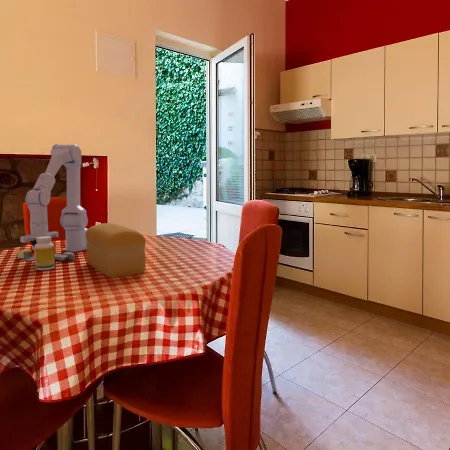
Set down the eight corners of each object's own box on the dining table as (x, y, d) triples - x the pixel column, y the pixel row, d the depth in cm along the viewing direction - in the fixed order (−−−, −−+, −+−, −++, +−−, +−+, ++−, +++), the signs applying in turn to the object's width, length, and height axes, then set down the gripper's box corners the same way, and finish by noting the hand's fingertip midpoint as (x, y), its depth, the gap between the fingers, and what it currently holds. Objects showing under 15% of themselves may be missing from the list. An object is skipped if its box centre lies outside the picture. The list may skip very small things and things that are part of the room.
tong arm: (40, 255, 156) (40, 247, 156) (73, 259, 149) (73, 252, 149) (34, 256, 154) (34, 249, 153) (67, 261, 146) (66, 253, 146)
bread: (86, 263, 146) (84, 223, 143) (119, 259, 153) (118, 220, 151) (109, 278, 126) (107, 232, 124) (146, 272, 133) (146, 228, 131)
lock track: (26, 256, 155) (26, 256, 155) (40, 259, 151) (40, 258, 151) (17, 258, 151) (17, 257, 151) (31, 261, 147) (31, 260, 147)
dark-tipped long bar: (46, 254, 159) (45, 248, 158) (78, 260, 150) (78, 253, 150) (38, 256, 156) (38, 250, 155) (71, 261, 147) (70, 255, 147)
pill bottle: (58, 268, 137) (56, 237, 136) (39, 271, 133) (37, 239, 131) (50, 265, 142) (49, 235, 140) (32, 268, 137) (30, 237, 136)
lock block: (26, 255, 154) (25, 249, 154) (32, 256, 153) (31, 250, 152) (17, 257, 151) (17, 250, 151) (23, 258, 150) (23, 251, 149)
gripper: (48, 219, 154) (50, 253, 156) (13, 223, 141) (16, 261, 143) (61, 220, 150) (63, 255, 152) (26, 225, 138) (29, 263, 140)
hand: (41, 258), depth 147 cm, fingers closed
